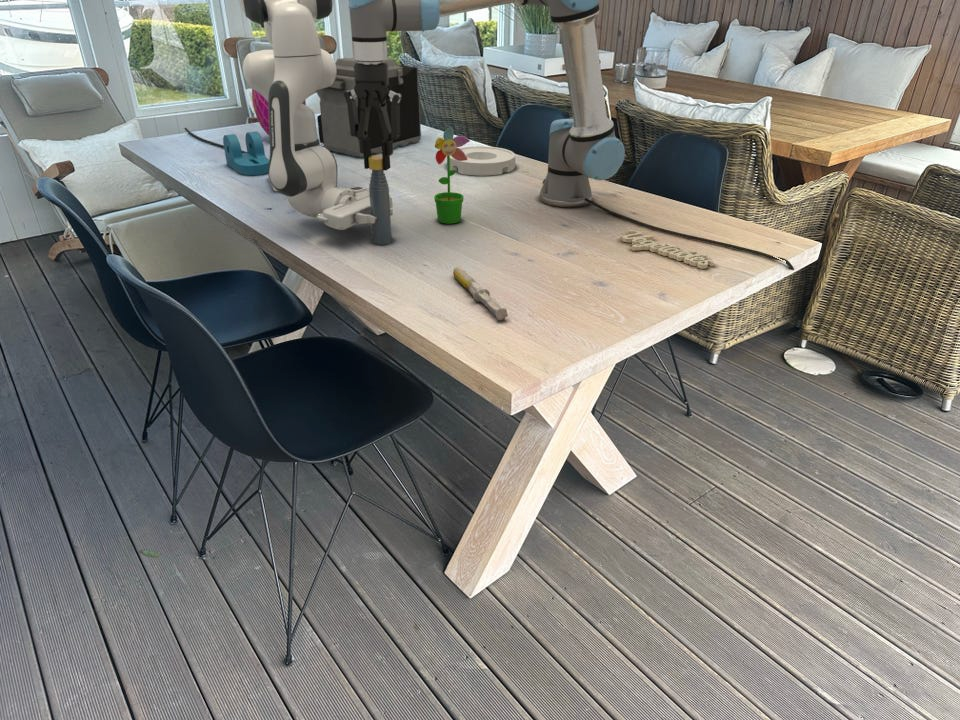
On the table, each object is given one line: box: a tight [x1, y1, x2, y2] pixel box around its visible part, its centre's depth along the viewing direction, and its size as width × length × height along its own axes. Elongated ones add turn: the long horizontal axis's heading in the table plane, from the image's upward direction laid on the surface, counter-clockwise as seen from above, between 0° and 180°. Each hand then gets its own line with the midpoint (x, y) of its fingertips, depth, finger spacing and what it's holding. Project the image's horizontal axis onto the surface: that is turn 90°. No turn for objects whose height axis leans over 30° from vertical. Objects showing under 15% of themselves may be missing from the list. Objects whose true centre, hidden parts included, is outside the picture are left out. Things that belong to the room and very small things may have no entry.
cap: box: [368, 154, 383, 171], centre depth 163 cm, size 4×4×2 cm
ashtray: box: [450, 145, 516, 177], centre depth 233 cm, size 23×23×4 cm
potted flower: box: [433, 126, 471, 225], centre depth 180 cm, size 9×8×25 cm
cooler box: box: [315, 57, 422, 159], centre depth 250 cm, size 37×22×30 cm, turn 144°
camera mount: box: [222, 131, 270, 176], centre depth 226 cm, size 18×10×10 cm, turn 35°
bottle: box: [368, 169, 393, 246], centre depth 167 cm, size 5×5×20 cm
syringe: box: [452, 266, 509, 321], centre depth 145 cm, size 25×4×3 cm, turn 21°
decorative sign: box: [621, 229, 715, 270], centre depth 168 cm, size 26×1×10 cm
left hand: (383, 216), depth 169 cm, fingers closed on bottle, 5 cm apart
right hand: (377, 167), depth 163 cm, fingers closed on cap, 4 cm apart
